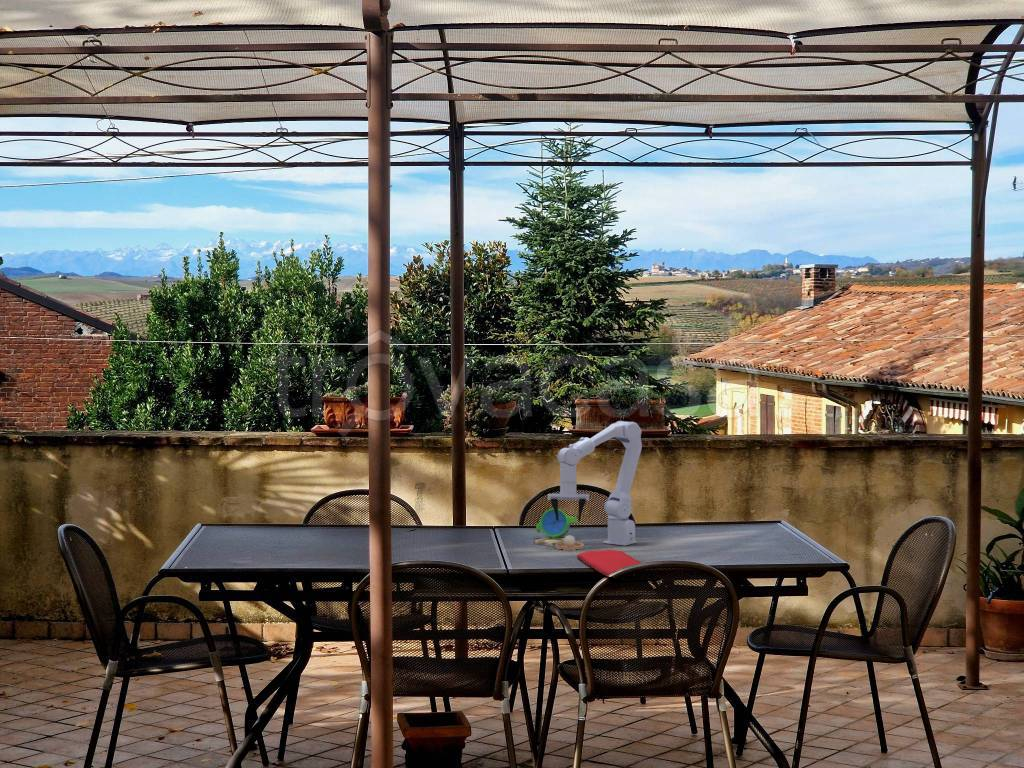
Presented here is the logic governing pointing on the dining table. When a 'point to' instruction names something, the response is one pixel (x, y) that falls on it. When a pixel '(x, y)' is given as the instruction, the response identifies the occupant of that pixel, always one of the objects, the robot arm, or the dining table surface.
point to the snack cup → (555, 523)
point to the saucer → (564, 547)
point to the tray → (549, 541)
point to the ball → (569, 540)
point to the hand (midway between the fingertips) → (568, 520)
